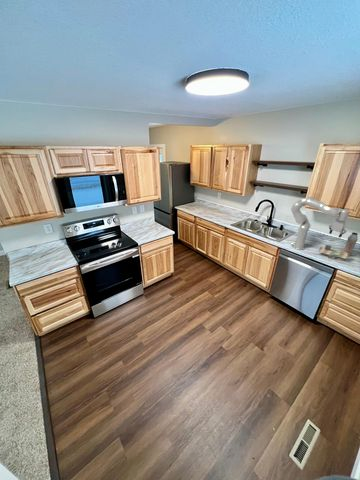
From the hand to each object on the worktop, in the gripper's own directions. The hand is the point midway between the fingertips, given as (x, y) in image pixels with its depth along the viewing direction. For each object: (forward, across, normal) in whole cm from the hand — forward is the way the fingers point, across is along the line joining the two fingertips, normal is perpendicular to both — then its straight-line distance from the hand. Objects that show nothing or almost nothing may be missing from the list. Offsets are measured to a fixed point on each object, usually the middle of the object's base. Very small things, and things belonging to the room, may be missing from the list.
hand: (334, 235), depth 212 cm
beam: (+26, +5, +1) cm, 27 cm away
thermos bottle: (+26, +9, +21) cm, 34 cm away
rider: (+20, -1, -2) cm, 20 cm away
